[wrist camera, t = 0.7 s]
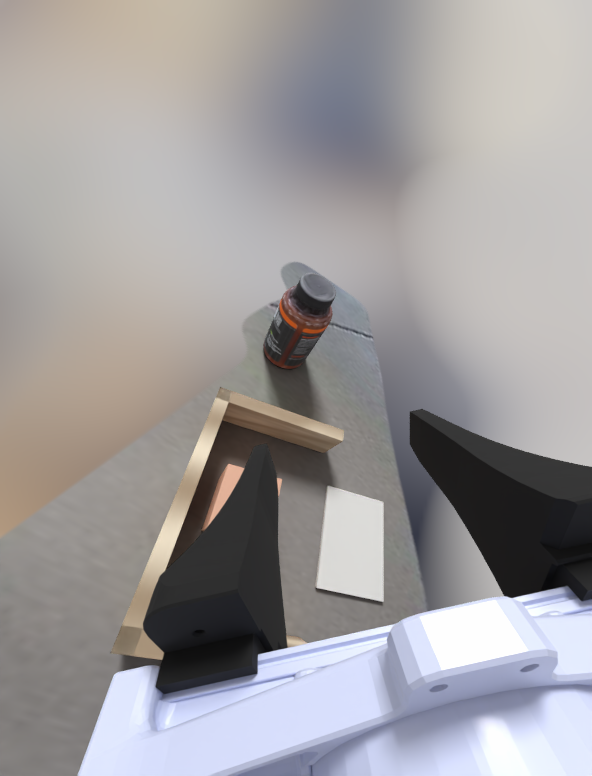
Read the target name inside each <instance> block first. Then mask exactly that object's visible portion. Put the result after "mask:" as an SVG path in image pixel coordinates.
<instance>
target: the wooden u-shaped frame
mask: <svg viewBox="0 0 592 776" xmlns="http://www.w3.org/2000/svg"><path fill="white" fill-rule="evenodd" d="M222 420H223V421H226V422H229V423H232V424H235V425H238V426H242V427H245V428H248V429H251V430H254V431H257V432H260V433H263V434H266V435H269V436H272V437H275V438H278V439H282V440H285V441H288V442H291V443H294V444H297V445H300V446H303V447H306V448H309V449H312V450H315V451H318V452H321V453H325V452H326V451H328V450H329V449H331V448H333V447H334V446H336V445H337V444H339V443H341V442H342V441H343V434H344V430H341V429H338V428H335V427H333V426H330V425H327V424H324V423H321V422H318V421H315V420H313V419H310V418H307V417H304V416H301V415H298V414H296V413H293V412H290V411H287V410H284V409H281V408H278V407H276V406H273V405H270V404H267V403H264V402H261V401H259V400H256V399H253V398H250V397H247V396H244V395H241V394H239V393H236V392H233V391H230V390H227V389H224V388H221V387H220V389H219V392H218V394H217V396H216V399H215V401H214V404H213V406H212V408H211V411H210V413H209V416H208V418H207V421H206V423H205V425H204V428H203V430H202V433H201V435H200V438H199V440H198V442H197V445H196V447H195V450H194V452H193V454H192V457H191V459H190V462H189V464H188V467H187V469H186V471H185V474H184V476H183V479H182V481H181V484H180V486H179V488H178V491H177V493H176V496H175V498H174V500H173V503H172V505H171V508H170V510H169V513H168V515H167V517H166V520H165V522H164V525H163V527H162V530H161V532H160V534H159V537H158V539H157V542H156V544H155V546H154V549H153V551H152V554H151V556H150V559H149V561H148V563H147V566H146V568H145V571H144V573H143V576H142V578H141V580H140V583H139V585H138V588H137V590H136V593H135V595H134V597H133V600H132V602H131V605H130V607H129V609H128V612H127V614H126V617H125V619H124V622H123V624H122V626H121V629H120V631H119V634H118V636H117V639H116V641H115V643H114V646H113V648H112V651H111V653H113V654H120V655H128V656H136V657H143V658H151V659H159V660H162V659H163V655H164V652H163V651H162V650H161V649H160V648H159V647H158V646H157V645H156V644H155V643H154V642H153V641H152V640H151V639H150V638H149V637H148V636H147V635H146V633H145V631H144V630H143V621H144V618H145V615H146V612H147V609H148V606H149V603H150V600H151V597H152V594H153V591H154V588H155V586H156V584H157V582H158V579H159V577H160V575H161V574H162V573H163V572H164V571H165V570H166V568H167V565H168V563H169V560H170V557H171V555H172V552H173V549H174V547H175V544H176V541H177V539H178V536H179V533H180V531H181V528H182V525H183V523H184V520H185V517H186V515H187V512H188V509H189V507H190V504H191V502H192V499H193V496H194V494H195V491H196V488H197V486H198V483H199V480H200V478H201V475H202V472H203V470H204V467H205V464H206V462H207V459H208V456H209V454H210V451H211V448H212V446H213V443H214V440H215V438H216V435H217V433H218V430H219V427H220V425H221V422H222ZM286 637H287V646H288V648H289V647H294V646H298V645H303V644H307V643H306V642H305V641H304V640H302V639H301V638H300V637H294V636H288V635H286Z"/></svg>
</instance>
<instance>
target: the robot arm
mask: <svg viewBox="0 0 592 776" xmlns="http://www.w3.org/2000/svg"><path fill="white" fill-rule="evenodd" d="M410 445H411V447H412V449H413V451H414V452H415V454H416V456H417V458H418V459H419V461H420V462H421V464H422V465H423V467H424V468H425V469H426V470H427V472H428V473H429V475H430V476H431V477H432V479H433V480H434V481H435V483H436V484H437V485H438V486H439V488H440V489H441V490H442V491H443V493H444V494H445V496H446V497H447V498H448V500H449V501H450V502H451V504H452V505H453V506H454V508H455V510H456V511H457V513H458V515H459V516H460V518H461V519H462V521H463V523H464V524H465V526H466V527H467V529H468V531H469V533H470V534H471V536H472V538H473V539H474V541H475V543H476V545H477V546H478V548H479V550H480V551H481V553H482V555H483V557H484V559H485V561H486V562H487V564H488V566H489V568H490V570H491V571H492V573H493V575H494V577H495V579H496V581H497V583H498V585H499V587H500V589H501V591H502V592H503V594H504V597H493V598H488V599H483V600H479V601H474V602H470V603H465V604H461V605H456V606H452V607H447V608H443V609H438V610H434V611H429V612H425V613H420V614H416V615H414V616H411V617H408V618H405V619H402V620H401V621H400V622H398V623H397V624H393V625H388V626H384V627H379V628H375V629H370V630H366V631H361V632H357V633H352V634H348V635H343V636H339V637H334V638H330V639H325V640H321V641H316V642H312V643H307V644H303V645H298V646H294V647H289V648H288V646H287V637H286V628H285V619H284V609H283V599H282V589H281V577H280V566H279V553H278V484H277V475H276V471H275V468H274V465H273V461H272V458H271V455H270V452H269V449H268V446H267V444H263V445H258V446H255V447H254V448H253V450H252V453H251V455H250V458H249V460H248V462H247V464H246V466H245V468H244V470H243V472H242V474H241V476H240V478H239V480H238V482H237V484H236V486H235V487H234V489H233V491H232V493H231V494H230V496H229V498H228V499H227V501H226V502H225V504H224V505H223V507H222V508H221V510H220V511H219V512H218V514H217V515H216V516H215V518H214V519H213V520H212V522H211V523H210V524H209V526H208V527H207V528H206V529H205V530H204V532H203V533H202V534H201V535H200V536H199V537H198V538H197V540H196V541H195V542H194V543H193V544H192V545H191V546H190V547H189V548H188V549H187V550H186V551H185V552H184V553H183V554H182V555H181V556H180V557H179V558H178V559H177V560H176V561H175V562H174V563H173V564H172V565H171V566H170V567H169V568H168V569H167V570H165V571H164V572H163V573H162V574H161V575H160V577H159V579H158V582H157V584H156V586H155V588H154V591H153V594H152V597H151V600H150V603H149V606H148V609H147V612H146V615H145V618H144V621H143V630H144V631H145V633H146V635H147V636H148V637H149V638H150V639H151V640H152V641H153V642H154V643H155V644H156V645H157V646H158V647H159V648H160V649H161V650H162V651H163V652H164V655H163V659H162V663H161V667H159V666H155V665H149V666H144V667H139V668H135V669H130V670H126V671H121V672H117V673H116V674H115V675H114V676H113V679H112V682H111V684H110V687H109V690H108V693H107V695H106V698H105V701H104V704H103V706H102V709H101V712H100V715H99V718H98V720H97V723H96V726H95V729H94V731H93V734H92V737H91V740H90V742H89V745H88V748H87V751H86V753H85V756H84V759H83V762H82V765H81V767H80V770H79V773H78V776H592V467H589V466H583V465H578V464H573V463H569V462H564V461H559V460H555V459H551V458H547V457H543V456H539V455H536V454H532V453H529V452H524V451H522V450H518V449H515V448H512V447H509V446H506V445H503V444H500V443H497V442H494V441H492V440H489V439H487V438H484V437H482V436H479V435H477V434H474V433H472V432H470V431H467V430H465V429H463V428H461V427H459V426H457V425H454V424H452V423H450V422H448V421H446V420H444V419H442V418H440V417H438V416H436V415H434V414H431V413H430V412H428V411H425V410H423V409H420V410H416V411H411V412H410Z"/></svg>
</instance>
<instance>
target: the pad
mask: <svg viewBox="0 0 592 776" xmlns="http://www.w3.org/2000/svg"><path fill="white" fill-rule="evenodd" d="M316 588H320V589H324V590H329V591H334V592H339V593H344V594H348V595H353V596H358V597H363V598H368V599H372V600H377V601H382V602H383V502H381V501H378V500H375V499H371V498H368V497H365V496H361V495H358V494H355V493H351V492H348V491H345V490H341V489H338V488H335V487H331V486H327V490H326V499H325V508H324V516H323V525H322V534H321V543H320V551H319V560H318V569H317V578H316Z"/></svg>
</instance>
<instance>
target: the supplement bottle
mask: <svg viewBox="0 0 592 776" xmlns="http://www.w3.org/2000/svg"><path fill="white" fill-rule="evenodd" d="M335 296H336V291H335V288H334V286H333V285H332V283H331V282H330V281H329V280H328V279H326V278H325V277H323V276H321V275H319V274H315V273H307V274H304V275H303V276H302V277H301V278H300V281H299V283H298V284H297V286H293V287H291V288H290V289H288V290H287V291H286V292H285V293H284V295H283V297H282V299H281V301H280V304H279V306H278V309H277V311H276V314H275V316H274V318H273V321H272V323H271V326H270V328H269V331H268V333H267V336H266V338H265V341H264V345H263V346H264V352H265V354H266V356H267V358H268V359H269V360H270V361H271V362H272V363H273V364H275V365H277V366H279V367H281V368H285V369H292V368H296V367H298V366H300V365H301V364H302V363H303V362H304V361H305V359H306V358H307V356H308V355H309V353H310V352H311V350H312V349H313V347H314V346H315V344H316V343H317V341H318V340H319V338H320V337H321V335H322V334H323V332H324V331H325V329H326V328H327V326H328V325H329V323H330V321H331V318H332V308H331V304H332V302H333V300H334V298H335Z"/></svg>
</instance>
